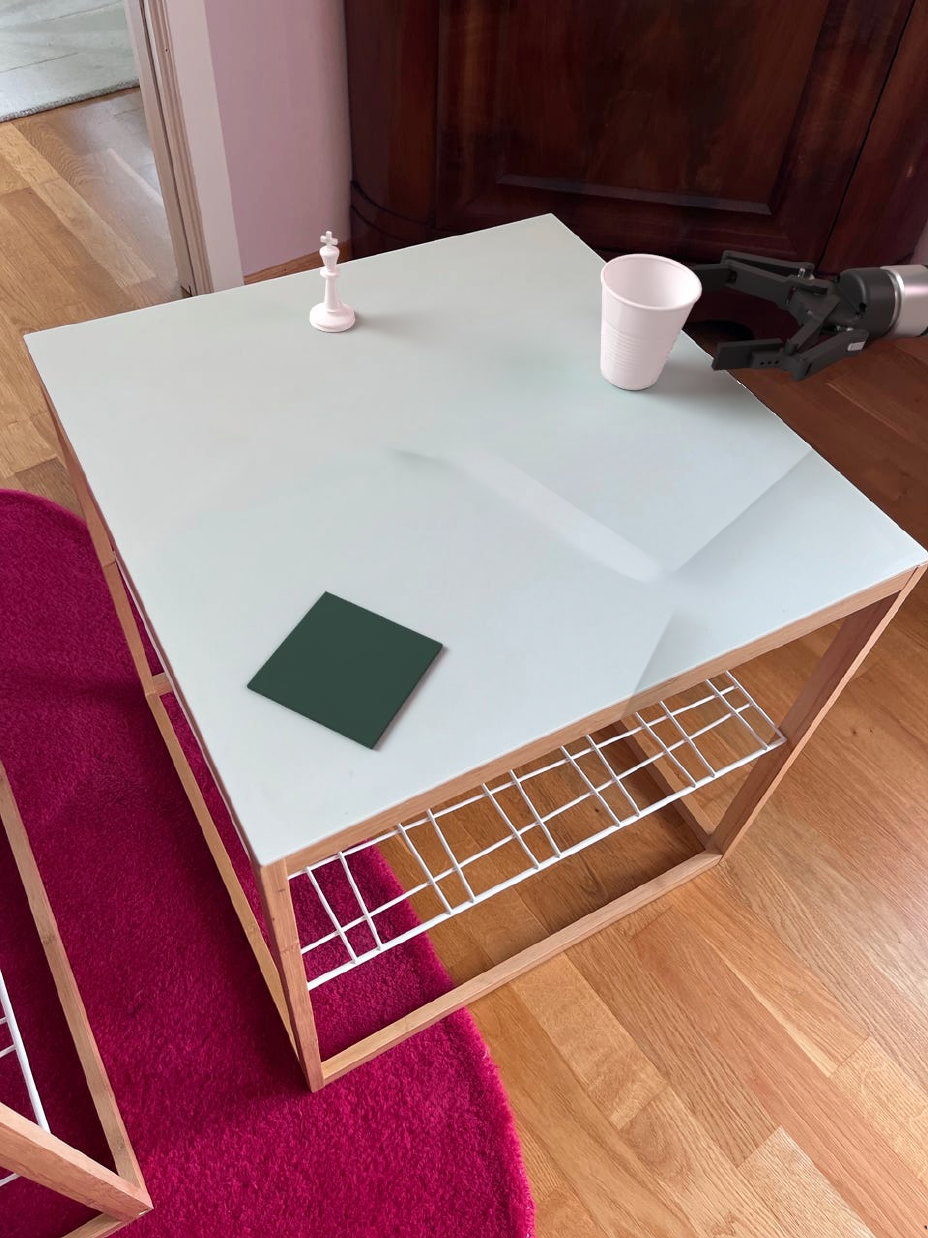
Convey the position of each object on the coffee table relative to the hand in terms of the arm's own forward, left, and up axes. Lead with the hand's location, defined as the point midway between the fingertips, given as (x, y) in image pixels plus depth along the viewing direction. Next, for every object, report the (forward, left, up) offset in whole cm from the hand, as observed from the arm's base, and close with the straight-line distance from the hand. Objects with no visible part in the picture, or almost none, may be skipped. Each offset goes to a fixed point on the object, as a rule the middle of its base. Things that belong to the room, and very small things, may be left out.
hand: (690, 317), depth 97 cm
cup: (+4, +3, -7) cm, 9 cm away
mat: (+9, +51, -7) cm, 52 cm away
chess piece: (+36, +12, -7) cm, 38 cm away
